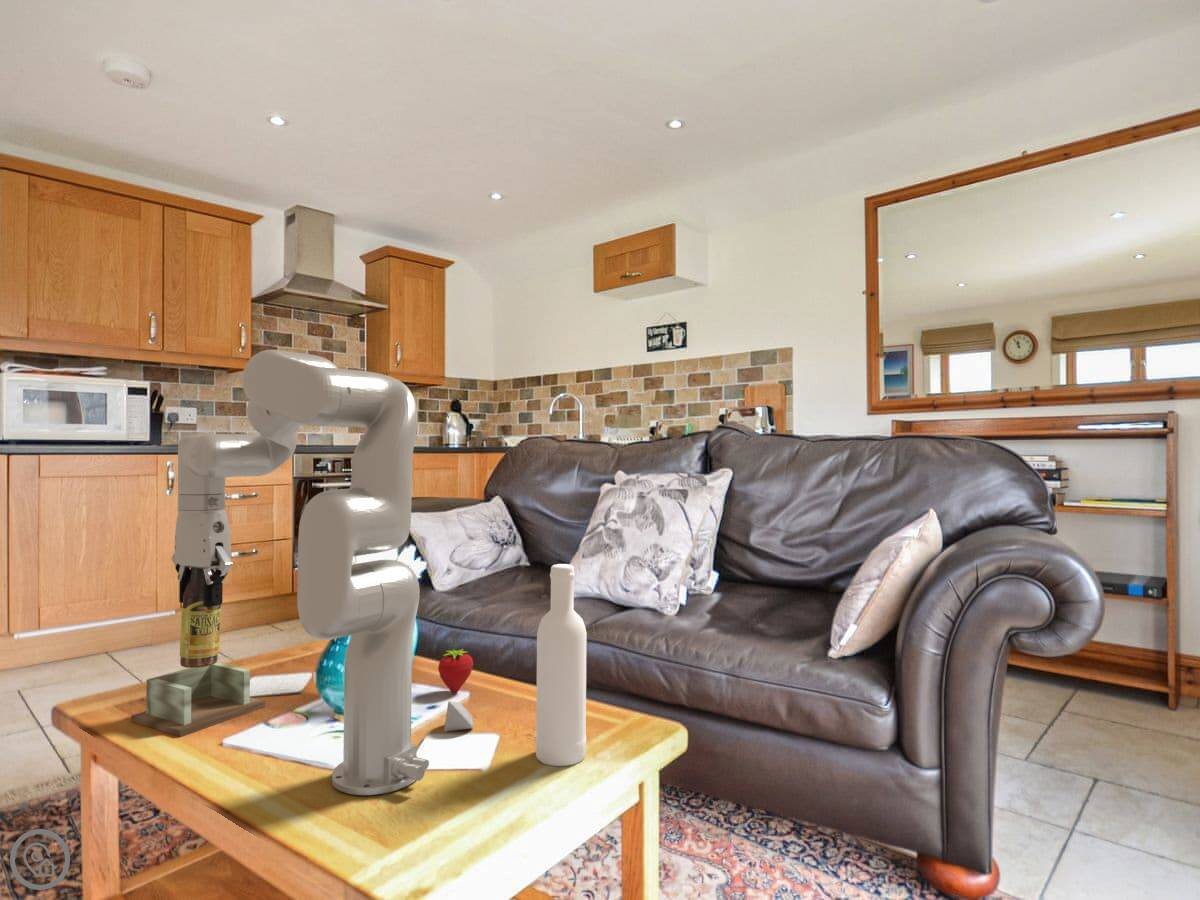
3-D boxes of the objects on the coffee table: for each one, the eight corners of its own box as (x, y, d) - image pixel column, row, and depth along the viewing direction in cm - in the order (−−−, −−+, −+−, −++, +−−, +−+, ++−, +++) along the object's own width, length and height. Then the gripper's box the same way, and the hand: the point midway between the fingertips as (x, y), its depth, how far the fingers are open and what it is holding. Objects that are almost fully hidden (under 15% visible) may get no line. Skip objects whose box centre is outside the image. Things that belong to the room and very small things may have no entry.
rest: (265, 706, 134) (265, 668, 134) (180, 736, 119) (180, 694, 119) (216, 694, 140) (217, 658, 140) (131, 721, 126) (131, 681, 126)
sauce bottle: (189, 671, 125) (189, 557, 125) (173, 665, 129) (174, 554, 129) (227, 663, 131) (228, 553, 131) (211, 656, 134) (211, 550, 134)
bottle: (595, 753, 114) (597, 564, 114) (566, 771, 108) (567, 571, 108) (556, 741, 119) (557, 560, 119) (525, 758, 112) (526, 566, 112)
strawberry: (480, 690, 143) (480, 640, 143) (452, 701, 137) (452, 649, 137) (458, 685, 147) (459, 636, 147) (430, 695, 141) (431, 644, 141)
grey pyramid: (426, 712, 124) (448, 691, 126) (445, 733, 127) (467, 712, 129) (441, 729, 119) (464, 706, 121) (461, 750, 122) (483, 728, 124)
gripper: (252, 504, 129) (251, 605, 129) (191, 500, 137) (191, 594, 137) (212, 507, 122) (211, 613, 122) (151, 503, 130) (150, 602, 130)
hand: (200, 602), depth 130 cm, fingers closed on sauce bottle, 6 cm apart
